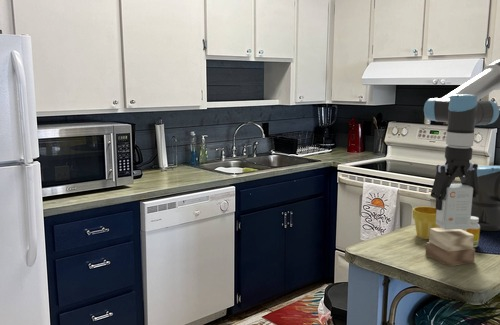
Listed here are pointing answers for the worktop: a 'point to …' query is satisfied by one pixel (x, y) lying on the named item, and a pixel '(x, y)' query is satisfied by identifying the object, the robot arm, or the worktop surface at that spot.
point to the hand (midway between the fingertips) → (452, 218)
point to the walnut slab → (449, 255)
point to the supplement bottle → (474, 230)
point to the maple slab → (451, 239)
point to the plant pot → (424, 220)
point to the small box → (457, 207)
